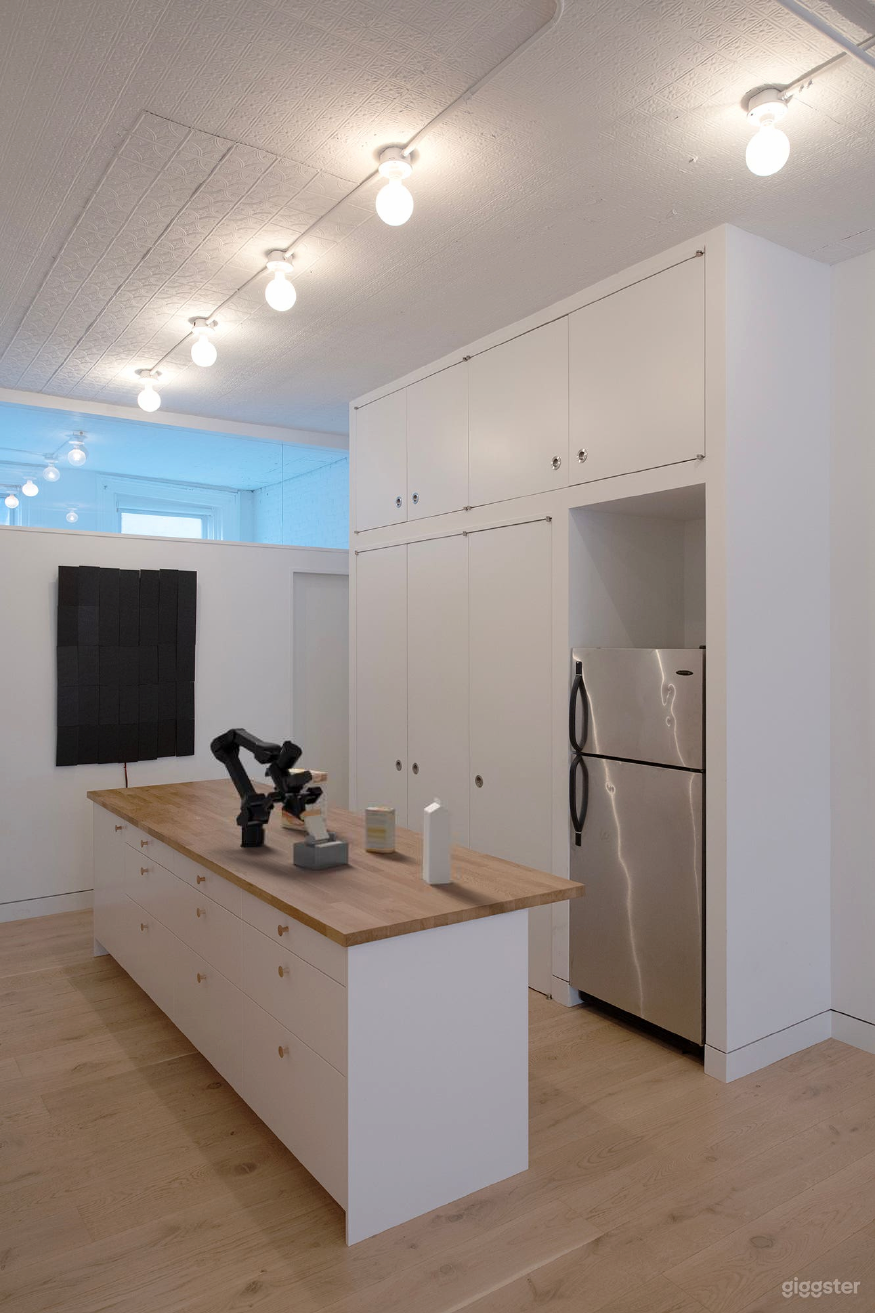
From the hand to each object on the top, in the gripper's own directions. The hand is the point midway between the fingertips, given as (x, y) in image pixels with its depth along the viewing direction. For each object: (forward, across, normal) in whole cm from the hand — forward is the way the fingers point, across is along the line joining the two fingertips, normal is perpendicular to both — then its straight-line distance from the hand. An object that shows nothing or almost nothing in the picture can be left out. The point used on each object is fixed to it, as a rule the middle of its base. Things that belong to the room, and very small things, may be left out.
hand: (305, 821), depth 257 cm
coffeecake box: (-18, +27, +34) cm, 47 cm away
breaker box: (+13, 0, +3) cm, 13 cm away
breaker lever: (+8, 0, -2) cm, 9 cm away
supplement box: (+13, +23, +3) cm, 27 cm away
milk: (+39, +10, -22) cm, 46 cm away
